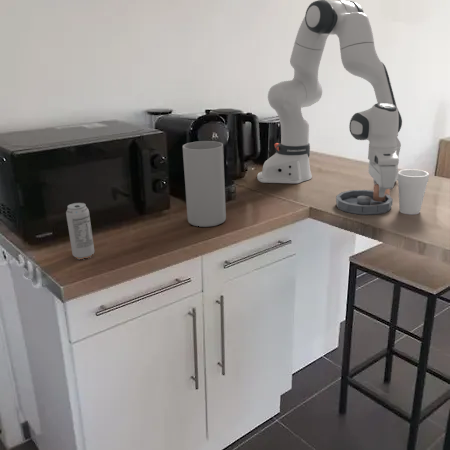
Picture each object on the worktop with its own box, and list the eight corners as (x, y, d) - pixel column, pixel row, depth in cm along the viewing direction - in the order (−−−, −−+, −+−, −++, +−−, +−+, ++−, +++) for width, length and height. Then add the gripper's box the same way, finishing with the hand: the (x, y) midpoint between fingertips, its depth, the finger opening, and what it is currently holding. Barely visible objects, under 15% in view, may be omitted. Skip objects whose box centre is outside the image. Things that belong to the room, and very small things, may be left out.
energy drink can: (91, 249, 148) (84, 200, 142) (97, 256, 143) (90, 206, 137) (70, 254, 145) (62, 204, 139) (76, 262, 140) (68, 210, 135)
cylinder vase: (233, 222, 165) (230, 145, 156) (199, 230, 159) (195, 151, 150) (213, 211, 175) (209, 139, 166) (181, 219, 168) (175, 144, 160)
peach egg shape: (386, 201, 171) (387, 187, 170) (374, 201, 172) (375, 187, 170) (383, 197, 175) (384, 183, 173) (371, 198, 175) (372, 184, 174)
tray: (341, 215, 166) (342, 206, 165) (332, 198, 183) (333, 190, 182) (397, 214, 166) (398, 205, 164) (383, 197, 182) (384, 189, 181)
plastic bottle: (395, 179, 203) (400, 129, 195) (399, 184, 196) (404, 132, 189) (379, 179, 203) (382, 129, 196) (382, 184, 197) (386, 132, 190)
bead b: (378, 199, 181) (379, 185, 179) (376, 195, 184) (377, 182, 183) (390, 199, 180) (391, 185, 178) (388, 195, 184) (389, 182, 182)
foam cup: (425, 217, 162) (429, 177, 158) (394, 215, 165) (398, 176, 160) (423, 207, 171) (427, 169, 166) (394, 205, 173) (397, 168, 169)
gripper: (365, 147, 178) (362, 185, 183) (379, 161, 159) (376, 203, 163) (383, 147, 177) (380, 185, 182) (400, 161, 158) (396, 203, 163)
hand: (379, 194), depth 173 cm, fingers closed on peach egg shape, 4 cm apart
